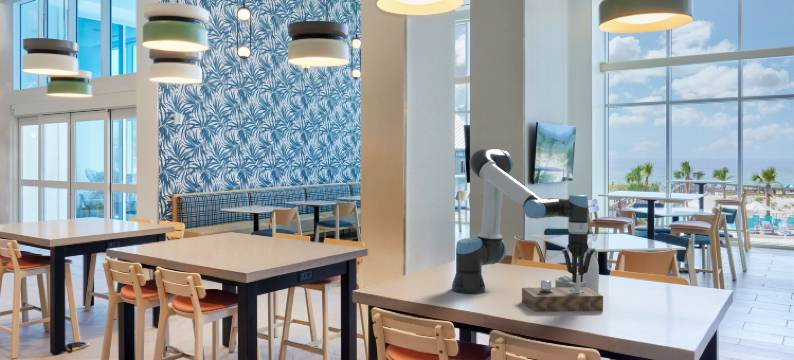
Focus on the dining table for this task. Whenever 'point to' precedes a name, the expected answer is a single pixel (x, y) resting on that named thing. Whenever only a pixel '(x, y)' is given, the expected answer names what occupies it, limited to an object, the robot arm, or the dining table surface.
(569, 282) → the lumpy-topped squat cylinder
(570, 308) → the walnut block
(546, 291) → the steel peg
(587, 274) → the milk bottle
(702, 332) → the dining table surface
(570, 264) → the robot arm
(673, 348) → the dining table surface
